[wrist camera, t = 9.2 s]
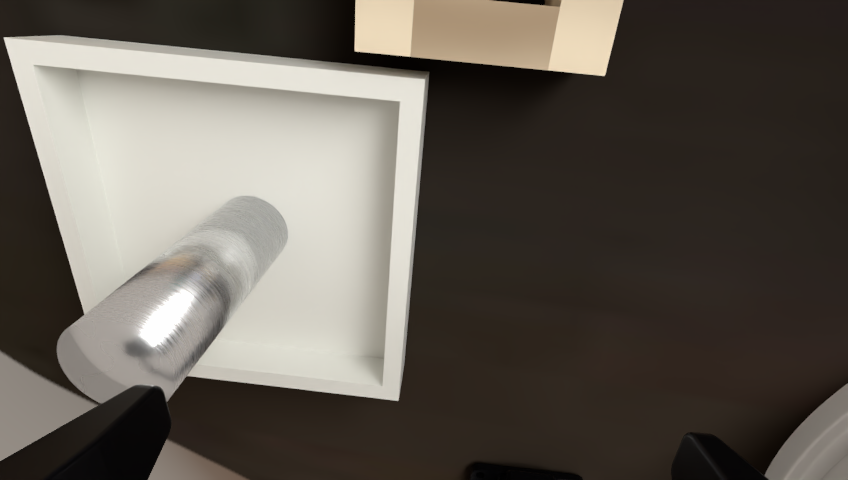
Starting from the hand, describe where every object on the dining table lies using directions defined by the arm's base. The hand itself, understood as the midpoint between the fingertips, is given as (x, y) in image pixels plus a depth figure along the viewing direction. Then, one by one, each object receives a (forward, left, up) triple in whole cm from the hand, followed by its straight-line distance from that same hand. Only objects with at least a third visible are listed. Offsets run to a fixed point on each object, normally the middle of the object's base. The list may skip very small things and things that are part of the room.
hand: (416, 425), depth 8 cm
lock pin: (-3, +8, -12) cm, 15 cm away
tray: (-3, +8, -13) cm, 16 cm away
